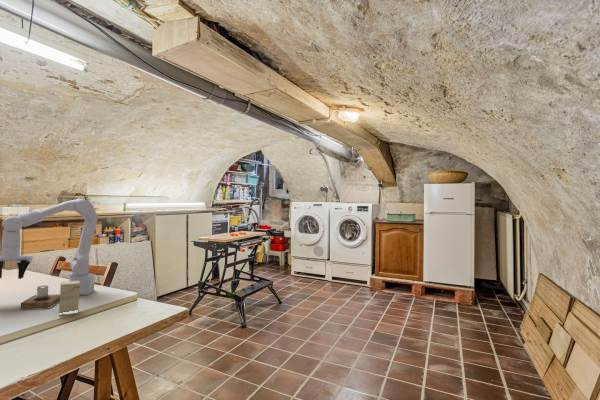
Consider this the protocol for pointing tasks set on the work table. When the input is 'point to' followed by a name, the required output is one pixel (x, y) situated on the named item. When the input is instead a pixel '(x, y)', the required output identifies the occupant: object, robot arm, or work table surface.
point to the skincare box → (69, 296)
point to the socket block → (40, 302)
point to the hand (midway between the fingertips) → (9, 278)
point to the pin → (42, 293)
